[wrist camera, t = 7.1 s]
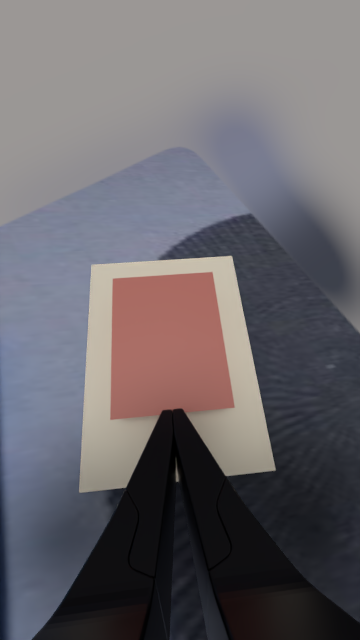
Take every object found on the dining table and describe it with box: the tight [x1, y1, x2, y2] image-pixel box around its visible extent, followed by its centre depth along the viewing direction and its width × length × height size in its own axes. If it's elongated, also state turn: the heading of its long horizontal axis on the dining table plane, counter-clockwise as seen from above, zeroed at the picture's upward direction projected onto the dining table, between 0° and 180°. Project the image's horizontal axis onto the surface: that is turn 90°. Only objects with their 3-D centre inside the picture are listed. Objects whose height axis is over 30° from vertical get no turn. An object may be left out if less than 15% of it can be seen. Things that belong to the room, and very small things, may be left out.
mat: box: [79, 256, 276, 493], centre depth 17 cm, size 16×12×1 cm
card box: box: [110, 272, 235, 420], centre depth 15 cm, size 3×7×9 cm
